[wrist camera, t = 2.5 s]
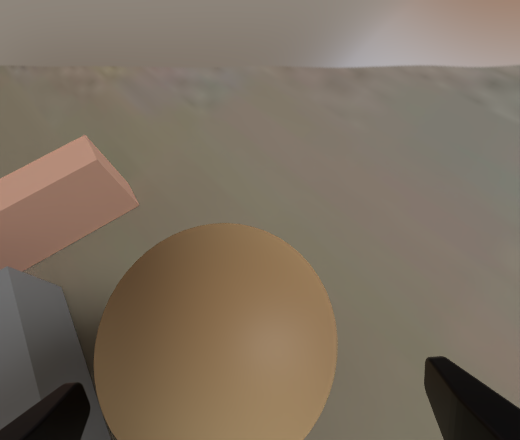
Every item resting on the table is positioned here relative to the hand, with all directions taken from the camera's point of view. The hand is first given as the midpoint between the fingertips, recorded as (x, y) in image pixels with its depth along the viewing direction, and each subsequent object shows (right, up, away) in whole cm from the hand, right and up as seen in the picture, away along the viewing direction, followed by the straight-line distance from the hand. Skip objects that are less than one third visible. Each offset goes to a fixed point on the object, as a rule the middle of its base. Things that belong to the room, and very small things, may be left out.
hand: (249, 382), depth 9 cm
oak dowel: (+1, -3, +8) cm, 9 cm away
